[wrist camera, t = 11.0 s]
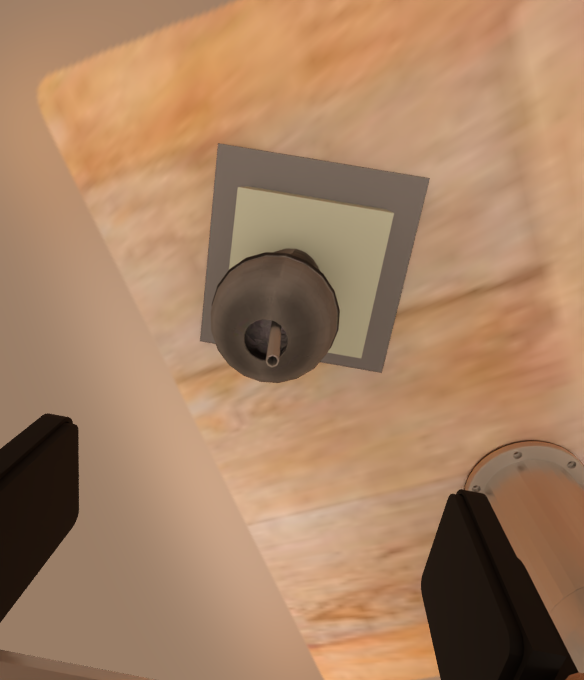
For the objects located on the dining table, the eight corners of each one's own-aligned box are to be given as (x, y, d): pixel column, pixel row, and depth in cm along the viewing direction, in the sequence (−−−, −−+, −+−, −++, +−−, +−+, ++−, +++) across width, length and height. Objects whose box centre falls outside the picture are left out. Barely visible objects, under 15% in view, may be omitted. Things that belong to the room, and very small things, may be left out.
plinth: (427, 178, 38) (444, 177, 33) (380, 368, 44) (388, 395, 39) (220, 144, 39) (202, 137, 33) (202, 337, 45) (184, 360, 39)
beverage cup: (227, 273, 36) (119, 372, 17) (293, 209, 34) (250, 244, 15) (289, 336, 38) (249, 491, 19) (355, 279, 36) (385, 388, 17)
